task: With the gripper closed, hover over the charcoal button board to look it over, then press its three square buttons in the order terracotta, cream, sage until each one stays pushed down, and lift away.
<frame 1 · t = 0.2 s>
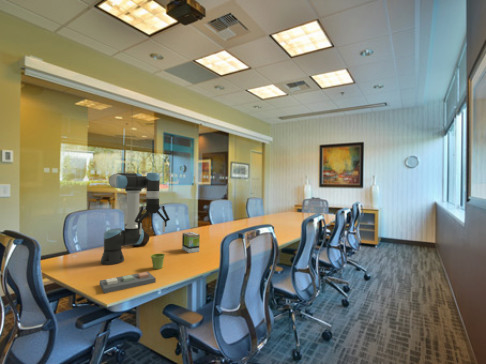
hand: (152, 233, 163), 27 cm above the table, tool pointing down, fingers open, 13 cm apart
terracotta button: (143, 275, 159), point 3 cm above the table, slide at 0.0 cm
plant pot: (157, 268, 183), on the table
button board: (128, 283, 154), on the table
cream button: (111, 281, 149), point 3 cm above the table, slide at 0.0 cm
sage button: (128, 278, 154), point 3 cm above the table, slide at 0.0 cm
glass bottle: (139, 245, 245), on the table
tea box: (190, 250, 230), on the table
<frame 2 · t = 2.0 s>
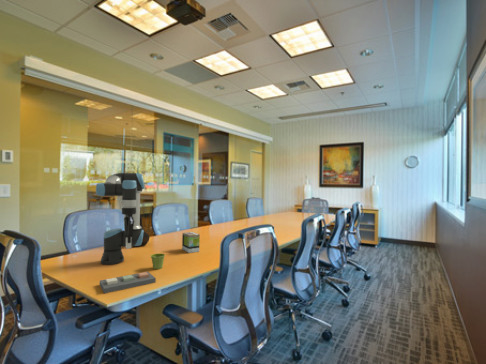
hand: (128, 248, 154), 20 cm above the table, tool pointing down, fingers closed
nothing on the table moved.
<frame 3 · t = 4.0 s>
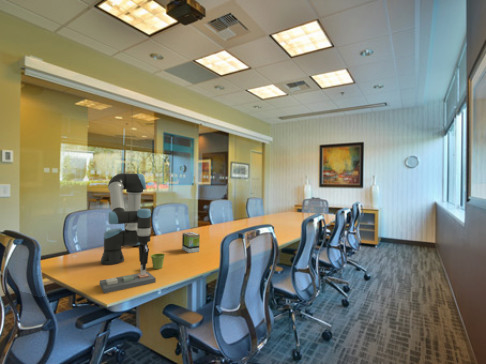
hand: (143, 274, 159), 4 cm above the table, tool pointing down, fingers closed
terracotta button: (143, 276, 159), point 2 cm above the table, slide at 0.7 cm, touching gripper
everything else where it was.
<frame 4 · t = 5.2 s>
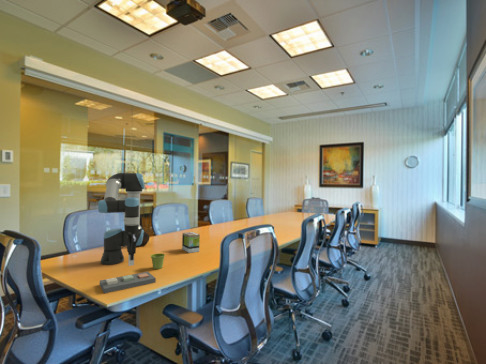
hand: (131, 265, 155), 10 cm above the table, tool pointing down, fingers closed
terracotta button: (143, 276, 159), point 2 cm above the table, slide at 0.7 cm
everything else where it was.
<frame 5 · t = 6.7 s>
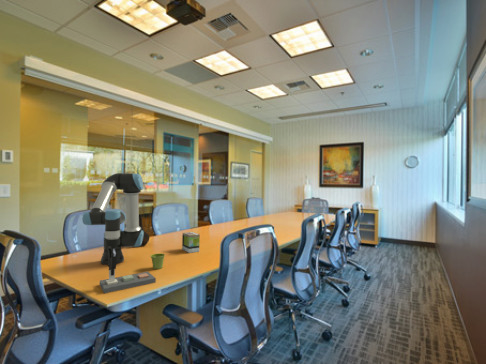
hand: (111, 280, 149), 4 cm above the table, tool pointing down, fingers closed
cream button: (111, 282, 149), point 2 cm above the table, slide at 0.6 cm, touching gripper
everything else where it was.
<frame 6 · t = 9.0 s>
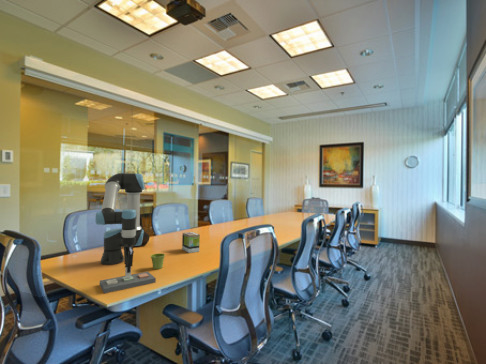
hand: (128, 277, 154), 4 cm above the table, tool pointing down, fingers closed
cream button: (111, 283, 149), point 2 cm above the table, slide at 0.7 cm
sage button: (128, 279, 154), point 2 cm above the table, slide at 0.7 cm, touching gripper
everything else where it was.
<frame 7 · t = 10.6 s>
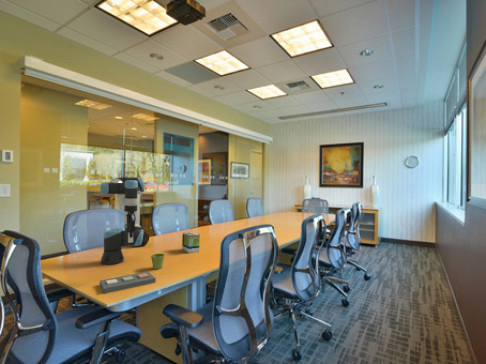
hand: (130, 242, 169), 20 cm above the table, tool pointing down, fingers closed
sage button: (128, 279, 154), point 2 cm above the table, slide at 0.7 cm
everything else where it was.
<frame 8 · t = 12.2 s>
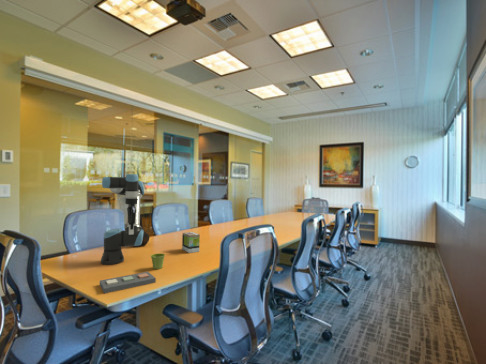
hand: (131, 234, 174), 24 cm above the table, tool pointing down, fingers closed
nothing on the table moved.
at the end: terracotta button slide at 0.7 cm; cream button slide at 0.7 cm; sage button slide at 0.7 cm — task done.
